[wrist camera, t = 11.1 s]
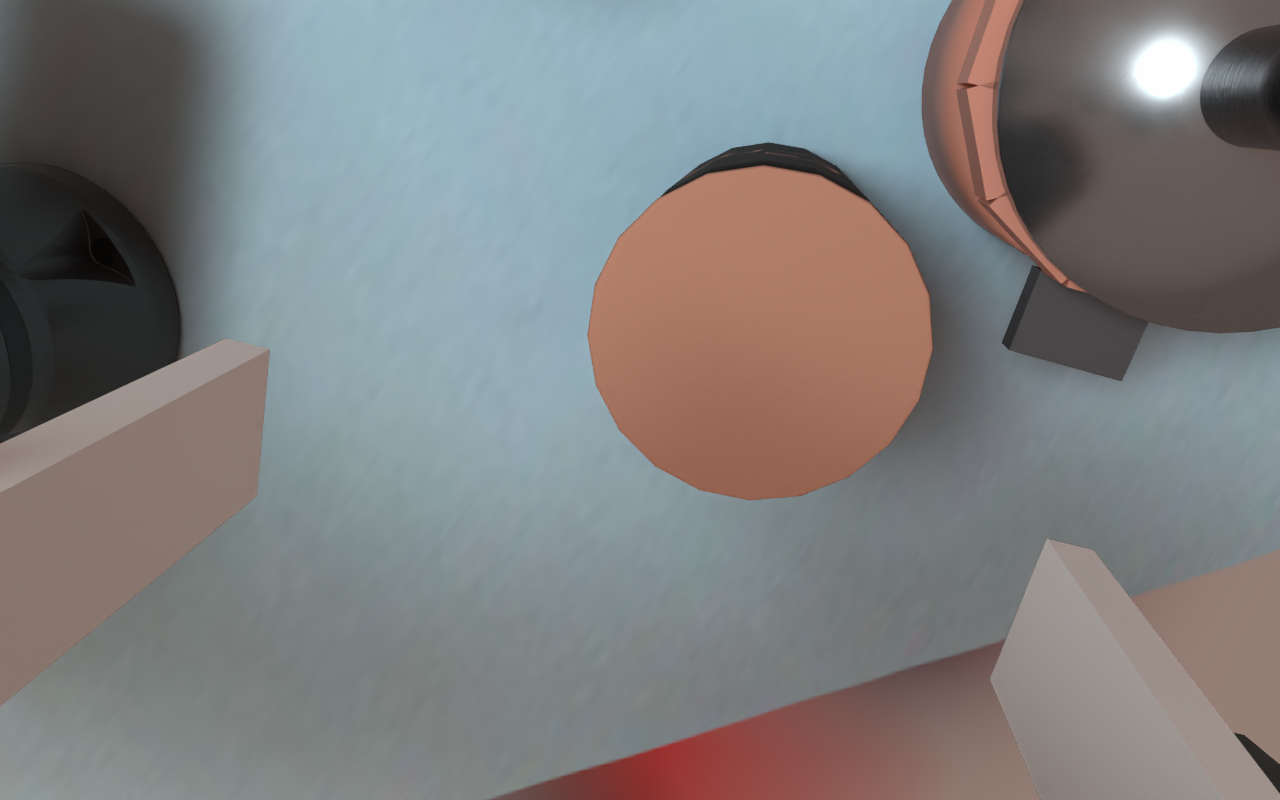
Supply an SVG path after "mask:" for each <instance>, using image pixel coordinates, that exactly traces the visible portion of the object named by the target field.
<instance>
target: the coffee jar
mask: <svg viewBox="0 0 1280 800" xmlns="http://www.w3.org/2000/svg"><path fill="white" fill-rule="evenodd" d="M587 336H588V341H589V347H590V353H591V359H592V365H593V370H594V376H595V382H596V386H597V388H598V390H599V392H600V394H601V396H602V398H603V400H604V402H605V404H606V405H607V407H608V409H609V411H610V413H611V415H612V417H613V419H614V421H615V423H616V425H617V426H618V428H619V430H620V431H621V432H622V433H623V434H624V435H625V436H626V437H627V438H628V439H629V440H630V441H631V442H632V443H633V444H634V445H635V446H636V447H637V448H638V449H639V450H640V451H641V452H642V453H643V454H644V455H645V456H646V457H647V458H648V459H649V460H650V461H651V462H652V463H653V464H654V465H655V466H656V467H658V468H660V469H661V470H663V471H665V472H667V473H669V474H671V475H673V476H675V477H676V478H678V479H680V480H682V481H684V482H686V483H688V484H689V485H691V486H693V487H695V488H697V489H699V490H702V491H707V492H712V493H717V494H722V495H727V496H732V497H736V498H741V499H746V500H757V499H769V498H781V497H792V496H801V495H804V494H806V493H809V492H811V491H814V490H817V489H819V488H822V487H824V486H827V485H829V484H832V483H834V482H837V481H839V480H842V479H844V478H847V477H849V476H850V475H852V474H853V473H854V472H855V471H857V470H858V469H859V468H860V467H862V466H863V465H864V464H865V463H867V462H868V461H869V460H870V459H872V458H873V457H874V456H875V455H877V454H878V453H879V452H880V451H882V450H883V449H884V448H885V447H887V446H888V445H889V444H890V443H891V441H892V440H893V438H894V437H895V435H896V434H897V432H898V431H899V429H900V428H901V426H902V425H903V423H904V422H905V420H906V419H907V417H908V416H909V414H910V413H911V411H912V410H913V408H914V407H915V405H916V404H917V402H918V401H919V399H920V395H921V391H922V388H923V384H924V380H925V377H926V373H927V369H928V366H929V362H930V358H931V355H932V351H933V338H932V323H931V307H930V294H929V292H928V289H927V287H926V285H925V282H924V280H923V278H922V275H921V273H920V271H919V268H918V266H917V264H916V261H915V259H914V257H913V254H912V252H911V250H910V247H909V245H908V243H907V242H906V241H905V240H904V239H903V238H902V237H901V236H900V234H899V233H898V232H897V231H896V230H895V229H894V227H893V226H892V225H891V224H890V223H889V222H888V221H887V220H886V219H885V218H884V216H883V215H882V214H881V213H880V212H879V211H878V210H877V209H876V208H875V207H874V205H873V204H872V203H871V202H870V201H869V200H868V199H867V198H866V197H865V196H864V195H863V193H862V192H861V191H860V190H859V189H858V188H857V187H856V186H855V185H854V184H853V183H852V182H851V181H850V180H849V179H848V178H847V177H846V176H845V175H844V174H843V172H842V171H841V170H840V169H839V168H838V167H837V166H835V165H833V164H832V163H830V162H828V161H826V160H824V159H822V158H821V157H819V156H817V155H815V154H813V153H811V152H810V151H808V150H806V149H803V148H797V147H791V146H786V145H780V144H774V143H763V144H756V145H750V146H743V147H736V148H732V149H730V150H728V151H726V152H724V153H722V154H720V155H718V156H716V157H714V158H712V159H710V160H708V161H706V162H704V163H702V164H700V165H699V166H698V167H696V168H695V169H694V170H692V171H691V172H690V173H689V174H687V175H686V176H685V177H684V178H682V179H681V180H680V181H678V182H677V183H676V184H675V185H673V186H672V187H671V188H669V189H668V190H667V191H666V192H665V193H664V194H663V195H662V196H661V197H660V198H658V199H657V200H656V201H655V202H654V203H653V204H652V205H651V206H650V207H649V208H648V209H647V210H646V211H645V212H644V213H643V214H642V215H641V216H640V217H639V218H638V219H637V220H636V221H634V222H633V223H632V224H631V225H630V226H629V227H628V228H627V229H626V230H625V231H624V232H623V233H622V234H621V235H620V236H619V238H618V240H617V242H616V244H615V246H614V248H613V250H612V252H611V254H610V256H609V258H608V260H607V262H606V264H605V266H604V268H603V270H602V272H601V274H600V276H599V278H598V280H597V282H596V283H595V288H594V295H593V301H592V308H591V315H590V322H589V329H588V335H587Z"/></svg>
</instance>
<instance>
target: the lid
mask: <svg viewBox="0 0 1280 800" xmlns="http://www.w3.org/2000/svg"><path fill="white" fill-rule="evenodd" d="M992 130H993V140H994V149H995V157H996V161H997V165H998V169H999V173H1000V177H1001V181H1002V185H1003V187H1004V190H1005V192H1006V195H1007V197H1008V200H1009V202H1010V205H1011V207H1012V209H1013V212H1014V213H1015V215H1016V217H1017V219H1018V220H1019V222H1020V224H1021V225H1022V227H1023V229H1024V231H1025V232H1026V234H1027V236H1028V237H1029V238H1030V240H1031V241H1032V242H1033V243H1034V245H1035V246H1036V247H1037V248H1038V250H1039V251H1040V252H1041V253H1042V255H1043V256H1044V257H1045V258H1046V259H1047V260H1048V261H1049V262H1050V263H1051V264H1052V265H1053V266H1054V267H1055V268H1056V269H1058V270H1059V271H1060V272H1061V273H1062V274H1063V275H1064V276H1065V277H1066V278H1068V279H1069V280H1070V281H1072V282H1073V283H1075V284H1076V285H1078V286H1079V287H1081V288H1082V289H1083V290H1085V291H1086V292H1088V293H1089V294H1091V295H1092V296H1094V297H1096V298H1097V299H1099V300H1101V301H1103V302H1104V303H1106V304H1108V305H1110V306H1112V307H1114V308H1116V309H1118V310H1120V311H1122V312H1124V313H1126V314H1129V315H1131V316H1134V317H1137V318H1140V319H1143V320H1146V321H1149V322H1152V323H1155V324H1158V325H1163V326H1168V327H1173V328H1178V329H1183V330H1188V331H1201V332H1214V333H1231V332H1253V331H1260V330H1266V329H1272V328H1279V327H1280V0H1019V1H1018V4H1017V6H1016V9H1015V11H1014V13H1013V16H1012V18H1011V20H1010V23H1009V25H1008V28H1007V31H1006V34H1005V38H1004V41H1003V45H1002V48H1001V52H1000V55H999V59H998V63H997V70H996V76H995V82H994V89H993V104H992Z"/></svg>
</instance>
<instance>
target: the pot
mask: <svg viewBox="0 0 1280 800" xmlns="http://www.w3.org/2000/svg"><path fill="white" fill-rule="evenodd" d="M1018 1H1019V0H952V2H951V3H950V5H949V7H948V9H947V11H946V13H945V14H944V16H943V18H942V20H941V22H940V24H939V26H938V29H937V31H936V34H935V36H934V39H933V41H932V44H931V47H930V51H929V55H928V58H927V62H926V66H925V71H924V79H923V86H922V120H923V128H924V136H925V139H926V143H927V147H928V151H929V155H930V157H931V160H932V162H933V165H934V167H935V169H936V172H937V174H938V176H939V178H940V179H941V181H942V183H943V184H944V186H945V188H946V190H947V191H948V193H949V194H950V195H951V197H952V198H953V199H954V200H955V202H956V203H957V204H958V205H959V207H960V208H961V209H962V210H963V211H964V212H965V213H966V214H967V215H969V216H970V217H971V218H972V219H973V220H974V221H975V222H976V223H977V224H979V225H980V226H982V227H983V228H985V229H986V230H987V231H989V232H990V233H992V234H993V235H995V236H996V237H998V238H1000V239H1001V240H1003V241H1005V242H1006V243H1008V244H1010V245H1011V246H1013V247H1015V248H1016V249H1018V250H1020V251H1021V252H1023V253H1025V254H1026V255H1028V256H1029V257H1030V258H1031V259H1032V260H1033V261H1034V262H1035V263H1036V264H1037V265H1038V266H1039V267H1037V266H1032V268H1031V271H1030V273H1029V276H1028V278H1027V281H1026V283H1025V286H1024V288H1023V291H1022V293H1021V296H1020V298H1019V301H1018V304H1017V306H1016V309H1015V311H1014V314H1013V316H1012V319H1011V321H1010V324H1009V326H1008V329H1007V331H1006V334H1005V336H1004V339H1003V341H1002V343H1003V344H1004V345H1005V346H1006V347H1007V348H1008V349H1009V350H1011V351H1014V352H1018V353H1022V354H1025V355H1029V356H1032V357H1036V358H1040V359H1043V360H1047V361H1050V362H1054V363H1058V364H1061V365H1065V366H1069V367H1072V368H1076V369H1079V370H1083V371H1087V372H1090V373H1094V374H1097V375H1101V376H1105V377H1108V378H1112V379H1115V380H1119V381H1122V380H1123V377H1124V375H1125V373H1126V371H1127V368H1128V366H1129V364H1130V362H1131V359H1132V357H1133V355H1134V353H1135V350H1136V348H1137V346H1138V344H1139V342H1140V339H1141V337H1142V335H1143V333H1144V330H1145V328H1146V326H1147V324H1148V321H1146V320H1143V319H1140V318H1137V317H1134V316H1131V315H1129V314H1126V313H1124V312H1122V311H1120V310H1118V309H1116V308H1114V307H1112V306H1110V305H1108V304H1106V303H1104V302H1103V301H1101V300H1099V299H1097V298H1096V297H1094V296H1092V295H1091V294H1089V293H1088V292H1086V291H1085V290H1083V289H1082V288H1081V287H1079V286H1078V285H1076V284H1075V283H1073V282H1072V281H1070V280H1069V279H1068V278H1066V277H1065V276H1064V275H1063V274H1062V273H1061V272H1060V271H1059V270H1058V269H1056V268H1055V267H1054V266H1053V265H1052V264H1051V263H1050V262H1049V261H1048V260H1047V259H1046V258H1045V257H1044V256H1043V255H1042V253H1041V252H1040V251H1039V250H1038V248H1037V247H1036V246H1035V245H1034V243H1033V242H1032V241H1031V240H1030V238H1029V237H1028V236H1027V234H1026V232H1025V231H1024V229H1023V227H1022V225H1021V224H1020V222H1019V220H1018V219H1017V217H1016V215H1015V213H1014V212H1013V209H1012V207H1011V205H1010V202H1009V200H1008V197H1007V195H1006V192H1005V190H1004V187H1003V185H1002V181H1001V177H1000V173H999V169H998V165H997V161H996V157H995V149H994V140H993V130H992V104H993V89H994V82H995V76H996V70H997V63H998V59H999V55H1000V52H1001V48H1002V45H1003V41H1004V38H1005V34H1006V31H1007V28H1008V25H1009V23H1010V20H1011V18H1012V16H1013V13H1014V11H1015V9H1016V6H1017V4H1018Z"/></svg>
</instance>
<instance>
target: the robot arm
mask: <svg viewBox="0 0 1280 800" xmlns="http://www.w3.org/2000/svg"><path fill="white" fill-rule="evenodd" d="M178 341H179V317H178V308H177V302H176V297H175V293H174V289H173V286H172V282H171V279H170V276H169V274H168V271H167V269H166V266H165V264H164V262H163V260H162V258H161V256H160V254H159V252H158V250H157V248H156V247H155V245H154V244H153V242H152V240H151V239H150V237H149V236H148V234H147V233H146V232H145V230H144V229H143V228H142V226H141V225H140V224H139V223H138V221H137V220H136V219H135V218H134V217H133V216H132V215H131V214H130V213H129V212H128V211H127V210H126V209H125V208H124V207H123V206H122V205H121V204H120V203H119V202H118V201H117V200H116V199H114V198H113V197H112V196H111V195H109V194H108V193H107V192H105V191H104V190H102V189H101V188H99V187H98V186H96V185H95V184H93V183H91V182H90V181H88V180H86V179H84V178H82V177H80V176H78V175H76V174H73V173H71V172H68V171H66V170H62V169H59V168H56V167H52V166H48V165H42V164H34V163H13V164H0V706H1V705H2V704H4V703H5V702H6V701H7V700H8V699H10V698H11V697H12V696H13V695H15V694H16V693H17V692H18V691H19V690H21V689H22V688H23V687H24V686H26V685H27V684H28V683H29V682H30V681H32V680H33V679H34V678H35V677H37V676H38V675H39V674H40V673H41V672H43V671H44V670H45V669H46V668H47V667H49V666H50V665H51V664H52V663H54V662H55V661H56V660H57V659H58V658H60V657H61V656H62V655H63V654H65V653H66V652H67V651H68V650H69V649H71V648H72V647H73V646H74V645H76V644H77V643H78V642H79V641H80V640H82V639H83V638H84V637H85V636H87V635H88V634H89V633H90V632H91V631H93V630H94V629H95V628H96V627H98V626H99V625H100V624H101V623H102V622H104V621H105V620H106V619H107V618H109V617H110V616H111V615H112V614H113V613H115V612H116V611H117V610H118V609H120V608H121V607H122V606H123V605H124V604H126V603H127V602H128V601H129V600H131V599H132V598H133V597H134V596H135V595H137V594H138V593H139V592H140V591H142V590H143V589H144V588H145V587H146V586H148V585H149V584H150V583H151V582H153V581H154V580H155V579H156V578H157V577H159V576H160V575H161V574H162V573H164V572H165V571H166V570H167V569H168V568H170V567H171V566H172V565H173V564H175V563H176V562H177V561H178V560H179V559H181V558H182V557H183V556H184V555H185V554H187V553H188V552H189V551H190V550H192V549H193V548H194V547H195V546H196V545H198V544H199V543H200V542H201V541H203V540H204V539H205V538H206V537H207V536H209V535H210V534H211V533H212V532H214V531H215V530H216V529H217V528H218V527H220V526H221V525H222V524H223V523H225V522H226V521H227V520H228V519H229V518H231V517H232V516H233V515H234V514H236V513H237V512H238V511H239V510H240V509H242V508H243V507H244V506H245V505H247V504H248V503H249V502H250V501H251V500H253V499H254V498H255V497H256V496H257V487H258V476H259V465H260V453H261V442H262V431H263V420H264V409H265V397H266V386H267V375H268V364H269V353H270V349H267V348H263V347H259V346H255V345H251V344H247V343H243V342H239V341H234V340H230V339H223V340H221V341H219V342H217V343H215V344H213V345H211V346H208V347H206V348H204V349H202V350H200V351H198V352H196V353H193V354H191V355H189V356H187V357H185V358H183V359H181V360H178V361H176V362H175V359H176V354H177V349H178ZM990 681H991V683H992V685H993V688H994V690H995V693H996V695H997V697H998V700H999V702H1000V705H1001V707H1002V709H1003V711H1004V714H1005V716H1006V719H1007V721H1008V724H1009V726H1010V728H1011V731H1012V733H1013V736H1014V738H1015V740H1016V743H1017V745H1018V747H1019V750H1020V752H1021V755H1022V757H1023V759H1024V762H1025V764H1026V767H1027V769H1028V772H1029V774H1030V776H1031V779H1032V781H1033V783H1034V786H1035V788H1036V791H1037V793H1038V795H1039V798H1040V800H1280V764H1278V763H1277V762H1276V761H1275V760H1274V759H1272V758H1271V757H1270V756H1269V755H1267V754H1266V753H1265V752H1264V751H1263V750H1262V749H1260V748H1259V747H1258V746H1257V745H1256V744H1254V743H1253V742H1252V741H1251V740H1249V739H1248V738H1247V737H1246V736H1245V735H1241V734H1237V733H1233V732H1232V731H1231V729H1230V728H1229V727H1228V726H1227V724H1226V723H1225V721H1224V720H1223V719H1222V718H1221V716H1220V715H1219V714H1218V712H1217V711H1216V710H1215V708H1214V707H1213V706H1212V704H1211V703H1210V702H1209V700H1208V699H1207V698H1206V697H1205V695H1204V694H1203V693H1202V691H1201V690H1200V689H1199V687H1198V686H1197V685H1196V683H1195V682H1194V681H1193V680H1192V678H1191V677H1190V676H1189V674H1188V673H1187V672H1186V670H1185V669H1184V668H1183V666H1182V665H1181V664H1180V663H1179V661H1178V660H1177V659H1176V657H1175V656H1174V655H1173V653H1172V652H1171V651H1170V650H1169V648H1168V647H1167V646H1166V644H1165V643H1164V642H1163V640H1162V639H1161V638H1160V636H1159V635H1158V634H1157V633H1156V631H1155V630H1154V629H1153V627H1152V626H1151V625H1150V623H1149V622H1148V621H1147V620H1146V618H1145V617H1144V616H1143V614H1142V613H1141V612H1140V610H1139V609H1138V608H1137V606H1136V605H1135V604H1134V602H1133V601H1132V600H1131V598H1130V597H1129V596H1128V595H1127V593H1126V592H1125V591H1124V589H1123V588H1122V587H1121V585H1120V584H1119V583H1118V581H1117V580H1116V579H1115V578H1114V576H1113V575H1112V574H1111V572H1110V571H1109V570H1108V568H1107V567H1106V566H1105V564H1104V563H1103V562H1102V561H1101V559H1100V558H1099V557H1098V555H1097V554H1096V553H1095V551H1094V550H1091V549H1087V548H1083V547H1079V546H1074V545H1070V544H1066V543H1062V542H1058V541H1054V540H1050V539H1047V540H1046V542H1045V544H1044V547H1043V549H1042V552H1041V554H1040V557H1039V559H1038V562H1037V564H1036V567H1035V569H1034V572H1033V574H1032V577H1031V579H1030V582H1029V584H1028V586H1027V589H1026V591H1025V594H1024V596H1023V599H1022V601H1021V604H1020V606H1019V609H1018V611H1017V614H1016V616H1015V619H1014V621H1013V624H1012V626H1011V628H1010V631H1009V633H1008V636H1007V638H1006V641H1005V643H1004V646H1003V648H1002V651H1001V653H1000V656H999V658H998V661H997V663H996V665H995V668H994V671H993V673H992V675H991V678H990Z"/></svg>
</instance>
